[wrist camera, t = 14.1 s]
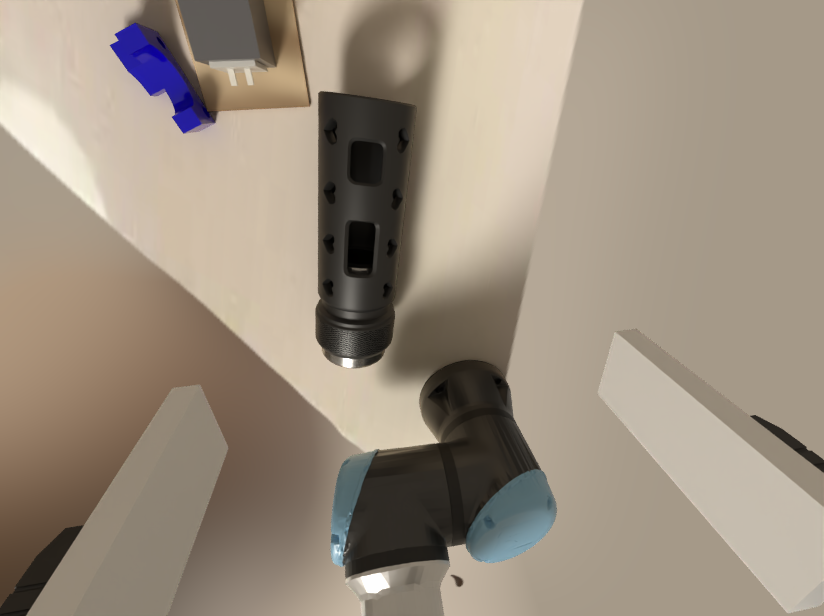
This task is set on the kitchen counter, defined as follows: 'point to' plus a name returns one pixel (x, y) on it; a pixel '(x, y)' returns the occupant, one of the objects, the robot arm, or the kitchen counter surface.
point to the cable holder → (161, 75)
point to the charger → (229, 35)
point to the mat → (269, 87)
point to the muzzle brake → (360, 222)
